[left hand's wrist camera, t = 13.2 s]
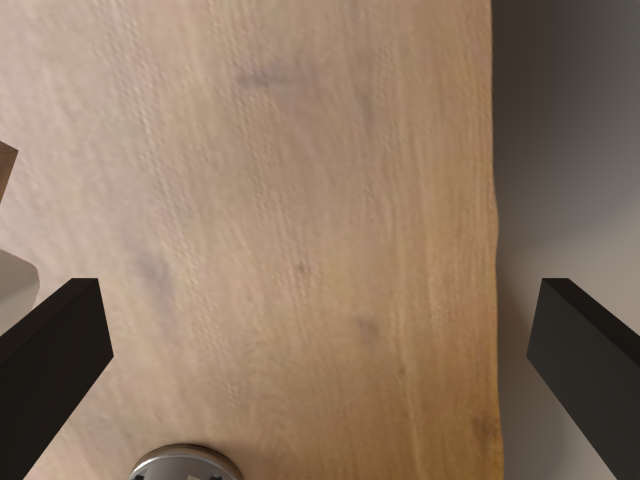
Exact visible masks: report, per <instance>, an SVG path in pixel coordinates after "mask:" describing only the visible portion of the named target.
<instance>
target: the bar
mask: <svg viewBox="0 0 640 480" xmlns="http://www.w3.org/2000/svg"><path fill="white" fill-rule="evenodd" d="M17 154H18V150H17V149H15V148H13V147H11V146H9V145H7V144H5V143H3V142H1V141H0V203H1V200H2V197H3V194H4V192H5V189H6V186H7V183H8V180H9V177H10V174H11V171H12V168H13V165H14V162H15V160H16V157H17Z"/></svg>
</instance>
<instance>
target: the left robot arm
mask: <svg viewBox="0 0 640 480" xmlns="http://www.w3.org/2000/svg"><path fill="white" fill-rule="evenodd" d="M113 357H114V355H113V350H112V345H111V340H110V336H109V331H108V326H107V321H106V316H105V311H104V306H103V301H102V296H101V292H100V287H99V282H98V278H71V279H70V280H69V281H68V282H67V283H65V284H64V285H63V286H62V287H60V288H59V289H58V290H57V291H55V292H54V293H53V294H52V295H51V296H49V297H48V298H47V299H46V300H44V301H43V302H42V303H41V304H39V305H38V306H37V307H36V308H34V309H33V310H32V311H31V312H30V313H28V314H27V315H26V316H25V317H23V318H22V319H21V320H20V321H18V322H17V323H16V324H15V325H14V326H12V327H11V328H10V329H9V330H7V331H6V332H5V333H4V334H2V335H1V336H0V480H23V479H24V477H25V476H26V475H27V473H28V472H29V471H30V469H31V468H32V467H33V465H34V464H35V463H36V461H37V460H38V458H39V457H40V456H41V454H42V453H43V452H44V450H45V449H46V448H47V446H48V445H49V444H50V442H51V441H52V439H53V438H54V437H55V435H56V434H57V433H58V431H59V430H60V429H61V427H62V426H63V425H64V423H65V422H66V421H67V419H68V418H69V416H70V415H71V414H72V412H73V411H74V410H75V408H76V407H77V406H78V404H79V403H80V402H81V400H82V399H83V397H84V396H85V395H86V393H87V392H88V391H89V389H90V388H91V387H92V385H93V384H94V383H95V381H96V380H97V378H98V377H99V376H100V374H101V373H102V372H103V370H104V369H105V368H106V366H107V365H108V364H109V362H110V361H111V360H112V358H113ZM526 357H527V358H528V360H529V361H530V362H531V364H532V365H533V366H534V368H535V369H536V370H537V372H538V373H539V374H540V376H541V377H542V378H543V380H544V381H545V383H546V384H547V385H548V387H549V388H550V389H551V391H552V392H553V393H554V395H555V396H556V397H557V399H558V400H559V402H560V403H561V404H562V406H563V407H564V408H565V410H566V411H567V412H568V414H569V415H570V416H571V418H572V419H573V421H574V422H575V423H576V425H577V426H578V427H579V429H580V430H581V431H582V433H583V434H584V435H585V437H586V438H587V439H588V441H589V442H590V444H591V445H592V446H593V448H594V449H595V450H596V452H597V453H598V454H599V456H600V457H601V458H602V460H603V461H604V463H605V464H606V465H607V467H608V468H609V469H610V471H611V472H612V473H613V475H614V476H615V477H616V479H617V480H640V336H639V335H638V334H636V333H635V332H634V331H633V330H631V329H630V328H629V327H628V326H626V325H625V324H624V323H623V322H621V321H620V320H619V319H618V318H617V317H615V316H614V315H613V314H612V313H610V312H609V311H608V310H607V309H606V308H604V307H603V306H602V305H601V304H599V303H598V302H597V301H596V300H594V299H593V298H592V297H591V296H589V295H588V294H587V293H586V292H584V291H583V290H582V289H581V288H580V287H578V286H577V285H576V284H575V283H573V282H572V281H571V280H570V279H568V278H542V282H541V287H540V292H539V297H538V301H537V306H536V311H535V316H534V321H533V326H532V331H531V336H530V341H529V345H528V350H527V355H526ZM128 480H244V479H243V477H242V475H241V473H240V472H239V470H238V469H237V468H236V467H235V465H234V464H233V463H231V462H230V461H229V460H228V459H226V458H225V457H223V456H222V455H220V454H218V453H216V452H214V451H212V450H209V449H206V448H203V447H199V446H194V445H170V446H165V447H161V448H158V449H155V450H153V451H151V452H149V453H147V454H146V455H144V456H143V457H142V458H141V459H140V460H139V461H138V462H137V463H136V464H135V466H134V468H133V470H132V472H131V474H130V476H129V478H128Z"/></svg>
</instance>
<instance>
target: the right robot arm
mask: <svg viewBox="0 0 640 480" xmlns="http://www.w3.org/2000/svg"><path fill="white" fill-rule="evenodd" d="M39 287H40V280H39V274H38V270H37V268H36V267H35V266H34V265H33V264H31V263H29V262H27V261H25V260H23V259H21V258H19V257H17V256H14V255H12V254H10V253H8V252H6V251H4V250H2V249H0V336H1V335H2V334H4V333H5V332H6V331H7V330H9V329H10V328H11V327H12V326H14V325H15V324H16V323H17V322H18V321H20V320H21V319H22V318H23V317H25V316H26V315H27V314H28V313H30V311H31V309H32V307H33V304H34V302H35V299H36V297H37V294H38V291H39Z"/></svg>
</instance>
